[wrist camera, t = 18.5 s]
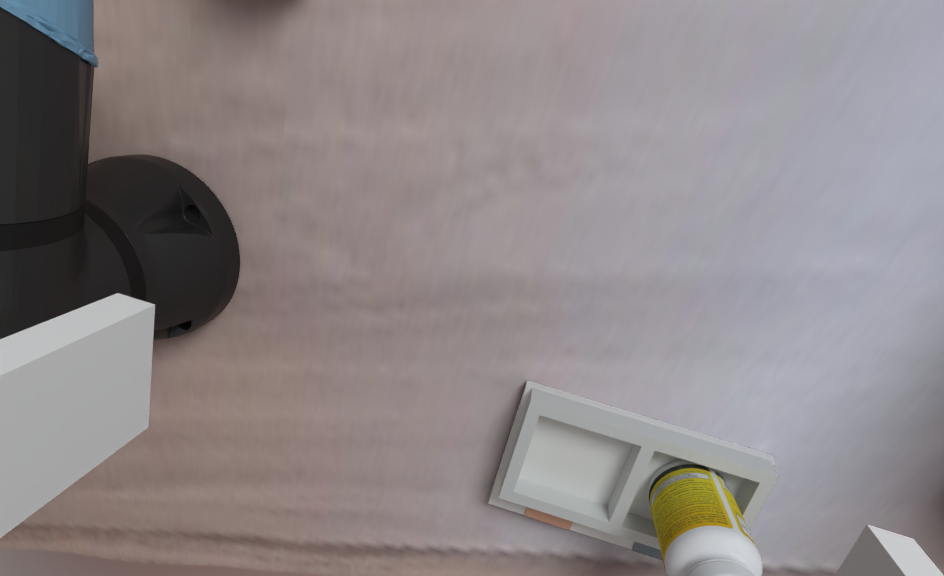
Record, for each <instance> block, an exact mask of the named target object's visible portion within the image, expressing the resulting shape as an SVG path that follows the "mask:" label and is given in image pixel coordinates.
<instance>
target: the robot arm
mask: <svg viewBox="0 0 944 576" xmlns="http://www.w3.org/2000/svg"><path fill="white" fill-rule="evenodd" d="M93 18H94V3H93V0H0V538H1V537H2V536H4V535H5V534H6V533H8V532H9V531H10V530H12V529H13V528H14V527H16V526H17V525H18V524H20V523H21V522H22V521H24V520H25V519H26V518H28V517H29V516H30V515H32V514H33V513H34V512H36V511H37V510H38V509H40V508H41V507H42V506H44V505H45V504H46V503H48V502H49V501H50V500H52V499H53V498H54V497H56V496H57V495H58V494H60V493H61V492H62V491H64V490H65V489H66V488H68V487H69V486H70V485H72V484H73V483H75V482H76V481H77V480H79V479H80V478H81V477H83V476H84V475H85V474H87V473H88V472H89V471H91V470H92V469H93V468H95V467H96V466H97V465H99V464H100V463H101V462H103V461H104V460H105V459H107V458H108V457H109V456H111V455H112V454H113V453H115V452H116V451H117V450H119V449H120V448H121V447H123V446H124V445H125V444H127V443H128V442H129V441H131V440H132V439H133V438H135V437H136V436H137V435H139V434H140V433H141V432H143V431H144V430H145V429H147V428H148V423H149V405H150V387H151V370H152V352H153V340H157V339H166V338H172V337H177V336H180V335H183V334H186V333H189V332H191V331H193V330H195V329H197V328H198V327H200V326H202V325H204V324H205V323H207V322H209V321H210V320H212V319H213V318H215V317H216V316H217V315H218V314H219V313H220V312H221V311H222V310H223V309H224V308H225V307H226V306H227V304H228V303H229V301H230V299H231V298H232V296H233V293H234V291H235V288H236V285H237V282H238V277H239V270H240V255H239V246H238V241H237V237H236V234H235V231H234V228H233V225H232V223H231V220H230V218H229V216H228V214H227V212H226V211H225V209H224V207H223V205H222V204H221V202H220V201H219V200H218V198H217V197H216V196H215V194H214V193H213V192H212V191H211V190H210V189H209V187H208V186H207V185H206V184H205V183H204V182H202V181H201V180H200V179H199V178H198V177H197V176H195V175H194V174H193V173H191V172H190V171H188V170H187V169H185V168H183V167H182V166H180V165H178V164H176V163H174V162H171V161H169V160H166V159H163V158H160V157H156V156H150V155H127V156H116V157H109V158H104V159H101V160H98V161H95V162H92V163H90V164H88V152H89V135H90V121H91V106H92V92H93V78H94V67H98V58H97V57H96V55H95V54H94V34H93ZM835 576H944V575H943V574H942V573H941V572H940V570H939V569H938V568H937V567H936V566H935V564H934V563H933V562H932V561H931V560H930V558H929V557H928V556H927V555H926V554H925V552H924V551H923V550H922V549H921V548H920V546H919V545H918V544H917V543H916V542H915V540H914V539H912V538H909V537H906V536H903V535H900V534H896V533H893V532H890V531H887V530H883V529H880V528H877V527H874V526H870V525H866V527H865V528H864V530H863V532H862V533H861V535H860V536H859V538H858V540H857V541H856V543H855V544H854V546H853V548H852V549H851V551H850V552H849V554H848V555H847V557H846V559H845V560H844V562H843V563H842V565H841V567H840V568H839V570H838V571H837V573H836V575H835Z"/></svg>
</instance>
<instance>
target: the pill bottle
mask: <svg viewBox="0 0 944 576" xmlns="http://www.w3.org/2000/svg"><path fill="white" fill-rule="evenodd" d="M648 497H649V504H650V508H651V512H652V516H653V520H654V525H655V529H656V533H657V537H658V541H659V545H660V549H661V554H662V559H663V563H664V567H665V570H666V573H667V576H762V561H761V557H760V554H759V552H758V549H757V547H756V545H755V543H754V540H753V538H752V536H751V534H750V532H749V530H748V527H747V525H746V523H745V521H744V518H743V516H742V514H741V512H740V510H739V508H738V505H737V503H736V501H735V499H734V497H733V495H732V493H731V490H730V488H729V486H728V484H727V482H726V481H725V479H724V477H723V476H722V475H721V474H720V473H719V472H718V471H717V470H716V469H713V468H710V467H707V466H704V465H700V464H697V463H694V462H691V461H687V460H679V461H675V462H672V463H669V464H667V465H665V466H664V467H662V468H661V469H660V470H658V471H657V472H656V473H655V475H654V476H653V477H652V479H651V481H650V484H649V488H648Z"/></svg>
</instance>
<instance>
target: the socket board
mask: <svg viewBox="0 0 944 576" xmlns="http://www.w3.org/2000/svg"><path fill="white" fill-rule="evenodd" d="M679 460H687V461H691V462H694V463H697V464H700V465H704V466H707V467H710V468H713V469H716V470H717V471H718V472H719V473H720V474H721V475H722V476H723V477H724V479H725V481H726V482H727V484H728V486H729V488H730V490H731V493H732V495H733V497H734V499H735V501H736V503H737V505H738V508H739V510H740V512H741V514H742V516H743V518H744V521H745V523H746V525H747V527H748V530H749V531H750V529H751V527H752V525H753V524H754V522H755V520H756V518H757V516H758V514H759V513H760V511H761V509H762V507H763V505H764V503H765V501H766V500H767V498H768V496H769V494H770V492H771V490H772V488H773V487H774V485H775V483H776V481H777V479H778V477H779V475H778V474H777V472H776V470H775V469H774V467H773V466H774V464H775V460H774V459H773V457H772V455H771V454H768V453H765V452H761V451H758V450H755V449H751V448H748V447H745V446H742V445H738V444H735V443H732V442H728V441H725V440H722V439H718V438H715V437H712V436H709V435H705V434H702V433H699V432H695V431H692V430H689V429H686V428H682V427H679V426H676V425H672V424H669V423H666V422H663V421H659V420H656V419H653V418H649V417H646V416H643V415H640V414H636V413H633V412H630V411H626V410H623V409H620V408H616V407H613V406H610V405H607V404H603V403H600V402H597V401H593V400H590V399H587V398H584V397H580V396H577V395H574V394H570V393H567V392H564V391H561V390H557V389H554V388H551V387H547V386H544V385H541V384H537V383H534V382H531V381H528V380H527V382H526V385H525V388H524V391H523V394H522V397H521V400H520V403H519V407H518V410H517V413H516V416H515V419H514V422H513V425H512V428H511V431H510V434H509V437H508V441H507V444H506V447H505V450H504V453H503V456H502V459H501V462H500V465H499V468H498V471H497V475H496V478H495V481H494V484H493V487H492V490H491V493H490V497H489V502H488V504H492V505H495V506H498V507H501V508H504V509H507V510H510V511H513V512H516V513H519V514H523V515H525V516H527V517H530V518H533V519H537V520H540V521H543V522H546V523H549V524H552V525H555V526H558V527H561V528H564V529H568V530H572V531H575V532H578V533H581V534H585V535H588V536H591V537H594V538H597V539H600V540H603V541H606V542H609V543H613V544H616V545H619V546H622V547H625V548H628V549H631V550H633V551H636V552H639V553H642V554H645V555H648V556H651V557H654V558H658V559H661V560H663V559H662V554H661V549H660V545H659V541H658V537H657V533H656V529H655V525H654V520H653V516H652V512H651V508H650V504H649V497H648V488H649V484H650V481H651V479H652V477H653V476H654V475H655V473H656V472H657V471H658V470H660V469H661V468H662V467H664V466H665V465H667V464H669V463H672V462H675V461H679Z"/></svg>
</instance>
